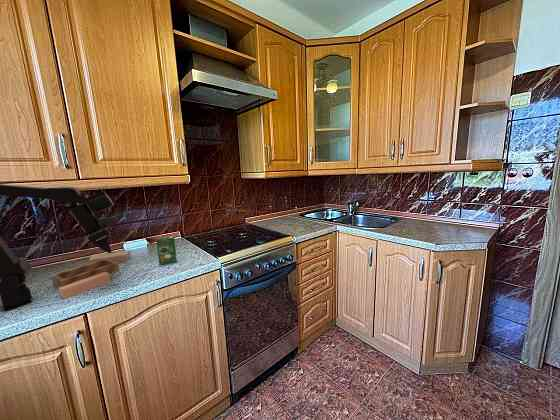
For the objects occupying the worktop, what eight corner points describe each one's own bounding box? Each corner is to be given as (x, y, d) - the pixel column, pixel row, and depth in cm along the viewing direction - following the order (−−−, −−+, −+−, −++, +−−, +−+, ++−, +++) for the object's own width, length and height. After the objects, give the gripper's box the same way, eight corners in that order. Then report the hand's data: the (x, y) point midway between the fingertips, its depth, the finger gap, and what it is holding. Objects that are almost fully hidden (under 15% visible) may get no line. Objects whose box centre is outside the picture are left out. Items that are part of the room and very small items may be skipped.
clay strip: (64, 300, 84) (61, 290, 83) (60, 297, 86) (58, 287, 85) (110, 282, 97) (109, 273, 96) (106, 280, 98) (105, 271, 98)
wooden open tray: (63, 290, 91) (61, 281, 90) (53, 284, 96) (50, 275, 96) (119, 270, 108) (118, 262, 107) (107, 266, 113) (106, 258, 113)
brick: (131, 256, 127) (130, 248, 126) (129, 261, 119) (127, 253, 118) (93, 263, 120) (92, 254, 119) (89, 269, 112) (87, 259, 111)
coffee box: (177, 260, 117) (174, 235, 115) (177, 262, 114) (173, 237, 112) (160, 263, 114) (156, 237, 112) (159, 265, 112) (155, 239, 109)
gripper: (111, 208, 87) (133, 243, 92) (105, 207, 101) (125, 237, 106) (76, 223, 80) (102, 259, 86) (75, 219, 94) (98, 251, 100)
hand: (109, 250), depth 94 cm, fingers open, 9 cm apart
